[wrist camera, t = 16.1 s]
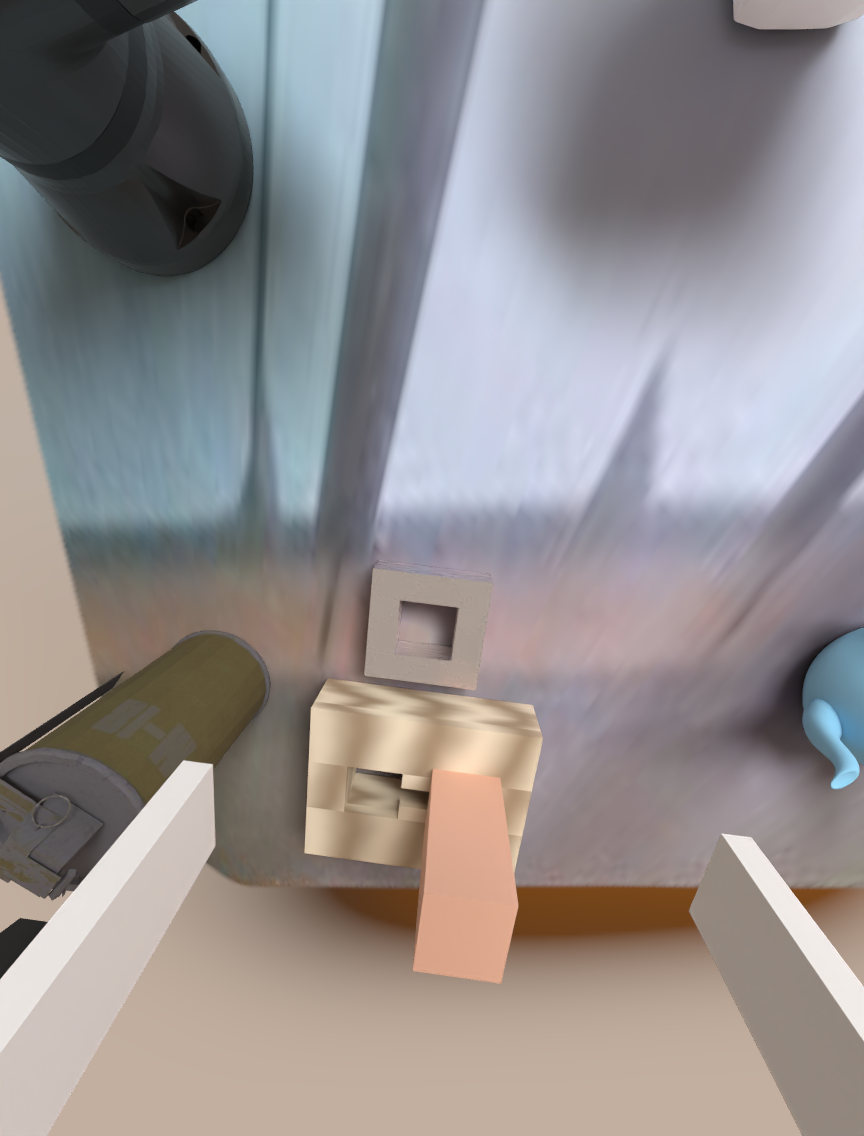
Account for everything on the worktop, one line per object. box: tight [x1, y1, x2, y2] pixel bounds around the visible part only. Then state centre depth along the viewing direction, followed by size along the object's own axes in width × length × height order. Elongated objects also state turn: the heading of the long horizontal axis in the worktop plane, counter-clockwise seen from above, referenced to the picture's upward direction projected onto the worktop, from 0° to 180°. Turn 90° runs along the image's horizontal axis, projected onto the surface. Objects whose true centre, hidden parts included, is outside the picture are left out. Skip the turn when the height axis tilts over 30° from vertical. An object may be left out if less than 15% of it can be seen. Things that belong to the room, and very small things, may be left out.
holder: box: [364, 560, 493, 690], centre depth 38 cm, size 10×10×3 cm
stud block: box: [413, 769, 518, 983], centre depth 34 cm, size 6×7×14 cm
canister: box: [0, 631, 270, 900], centre depth 32 cm, size 11×10×20 cm
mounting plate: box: [305, 678, 543, 871], centre depth 41 cm, size 20×16×5 cm
